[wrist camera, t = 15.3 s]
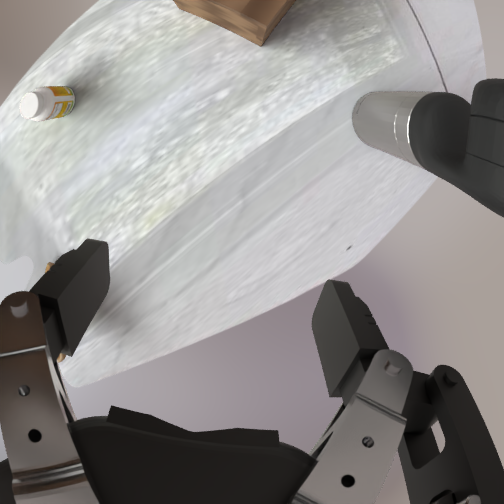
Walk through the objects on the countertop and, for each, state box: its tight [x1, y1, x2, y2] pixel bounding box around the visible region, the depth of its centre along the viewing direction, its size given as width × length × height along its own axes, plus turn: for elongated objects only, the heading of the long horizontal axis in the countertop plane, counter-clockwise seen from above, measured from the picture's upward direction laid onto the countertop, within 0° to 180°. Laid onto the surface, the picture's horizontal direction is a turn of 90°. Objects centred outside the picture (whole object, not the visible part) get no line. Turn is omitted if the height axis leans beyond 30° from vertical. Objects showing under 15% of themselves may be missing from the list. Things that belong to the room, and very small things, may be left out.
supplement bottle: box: [20, 86, 75, 121], centre depth 33 cm, size 5×5×10 cm
